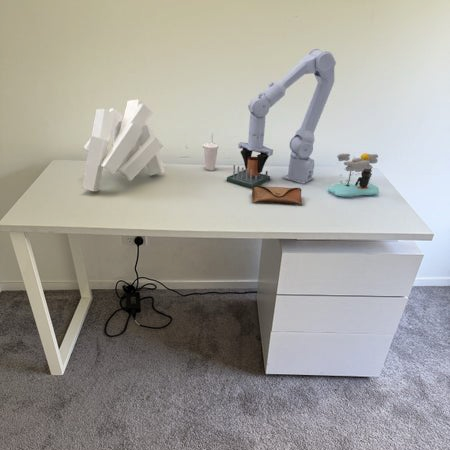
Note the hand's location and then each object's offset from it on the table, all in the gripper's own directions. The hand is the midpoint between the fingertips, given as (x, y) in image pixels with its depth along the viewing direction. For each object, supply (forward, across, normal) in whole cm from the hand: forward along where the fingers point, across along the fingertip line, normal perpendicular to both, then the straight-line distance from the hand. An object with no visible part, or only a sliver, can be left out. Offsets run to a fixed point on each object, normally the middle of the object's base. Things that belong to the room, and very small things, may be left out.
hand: (253, 170), depth 151 cm
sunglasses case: (+4, +18, -11) cm, 21 cm away
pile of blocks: (+4, -37, -33) cm, 50 cm away
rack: (+4, -1, -2) cm, 4 cm away
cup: (+1, 0, 0) cm, 1 cm away
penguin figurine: (+4, +36, +15) cm, 39 cm away
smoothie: (+4, -21, -1) cm, 21 cm away
